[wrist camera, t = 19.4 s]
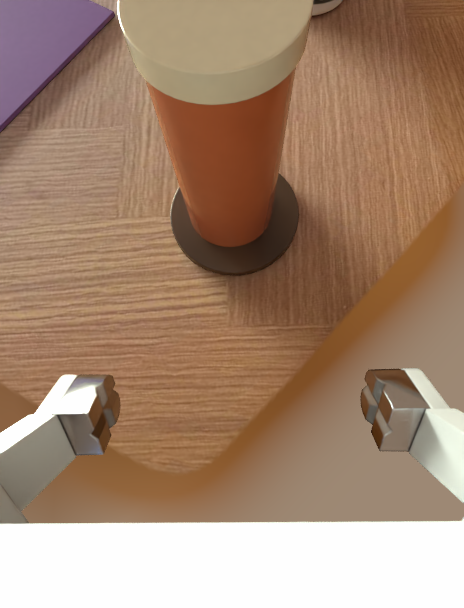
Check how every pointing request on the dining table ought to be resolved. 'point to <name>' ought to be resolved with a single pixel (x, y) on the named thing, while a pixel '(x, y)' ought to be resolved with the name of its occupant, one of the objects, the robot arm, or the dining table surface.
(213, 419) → the dining table surface
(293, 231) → the coaster
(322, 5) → the pill bottle
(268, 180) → the spice jar
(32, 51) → the board
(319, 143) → the dining table surface
